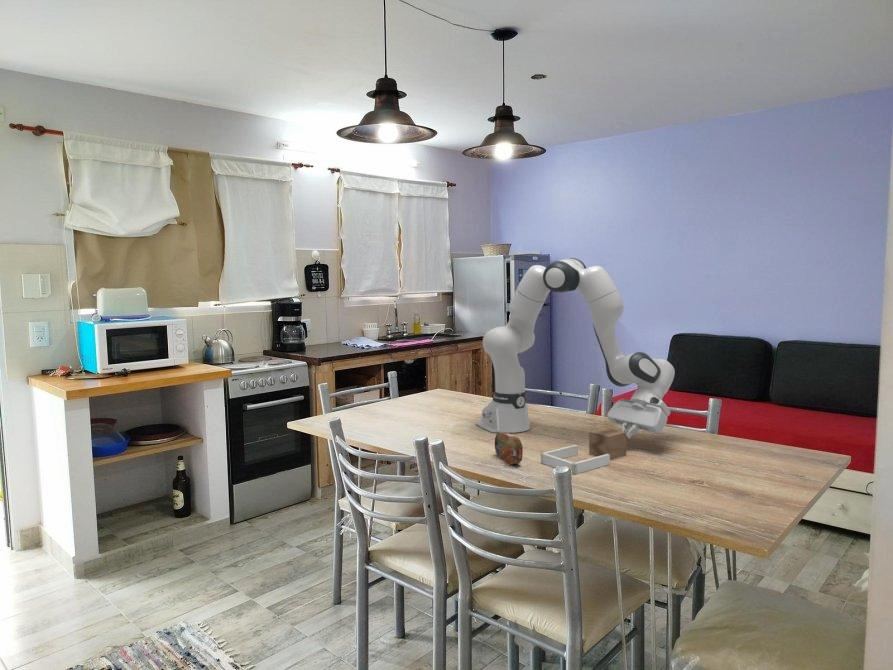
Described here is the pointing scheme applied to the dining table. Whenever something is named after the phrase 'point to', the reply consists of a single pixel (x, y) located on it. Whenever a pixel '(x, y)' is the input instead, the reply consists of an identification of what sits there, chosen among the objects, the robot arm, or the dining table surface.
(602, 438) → the walnut block
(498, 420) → the robot arm
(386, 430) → the dining table surface
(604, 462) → the white u-shaped frame
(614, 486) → the dining table surface
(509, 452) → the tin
